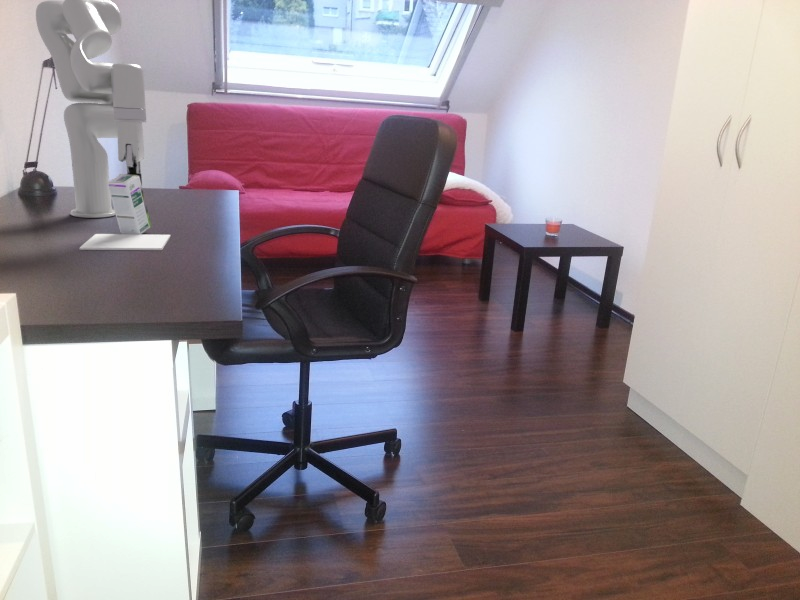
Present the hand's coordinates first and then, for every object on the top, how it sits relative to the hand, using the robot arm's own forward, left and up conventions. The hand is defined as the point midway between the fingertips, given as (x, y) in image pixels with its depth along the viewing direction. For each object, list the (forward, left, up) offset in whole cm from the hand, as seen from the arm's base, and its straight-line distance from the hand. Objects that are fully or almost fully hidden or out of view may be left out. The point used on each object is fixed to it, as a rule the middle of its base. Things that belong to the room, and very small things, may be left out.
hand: (135, 188), depth 167 cm
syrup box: (+2, 0, -11) cm, 11 cm away
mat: (+14, 0, -11) cm, 18 cm away
